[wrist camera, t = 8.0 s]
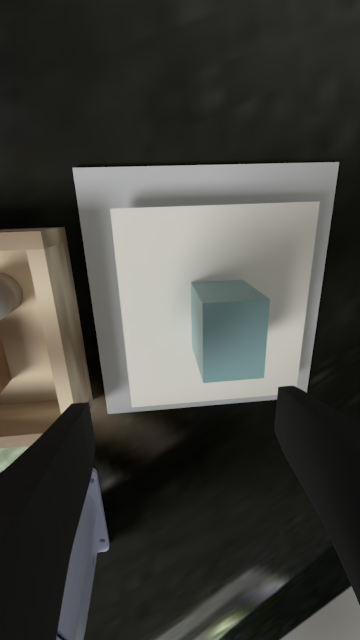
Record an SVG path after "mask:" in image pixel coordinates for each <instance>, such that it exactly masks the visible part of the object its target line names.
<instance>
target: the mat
mask: <svg viewBox="0 0 360 640" xmlns="http://www.w3.org/2000/svg"><path fill="white" fill-rule="evenodd" d="M338 168H339V162H316V163H270V164H225V165H179V166H133V167H87V168H73V175H74V182H75V189H76V196H77V203H78V210H79V217H80V224H81V231H82V238H83V245H84V252H85V259H86V266H87V273H88V280H89V287H90V294H91V300H92V307H93V314H94V321H95V328H96V335H97V342H98V349H99V356H100V363H101V370H102V377H103V384H104V391H105V398H106V405H107V412H108V414H115V413H127V412H138V411H150V410H161V409H173V408H184V407H196V406H207V405H219V404H230V403H242V402H254V401H265V400H277V395H270V396H259V397H247V398H236V399H224V400H213V401H201V402H190V403H178V404H167V405H155V406H144V407H132V405H131V396H130V387H129V378H128V369H127V360H126V351H125V342H124V332H123V323H122V314H121V305H120V296H119V287H118V278H117V269H116V259H115V250H114V241H113V232H112V223H111V214H110V209H114V208H143V207H172V206H202V205H231V204H260V203H289V202H319V201H320V205H319V213H318V221H317V229H316V237H315V245H314V253H313V261H312V269H311V277H310V285H309V293H308V301H307V309H306V317H305V325H304V333H303V341H302V349H301V357H300V365H299V373H298V381H297V388H299V389H301V390H303V391H305V392H306V393H307V388H308V381H309V374H310V367H311V360H312V352H313V345H314V338H315V331H316V324H317V317H318V310H319V303H320V296H321V289H322V282H323V275H324V267H325V260H326V253H327V246H328V239H329V232H330V225H331V218H332V211H333V204H334V197H335V189H336V182H337V175H338Z"/></svg>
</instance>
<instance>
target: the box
mask: <svg viewBox="0 0 360 640" xmlns="http://www.w3.org/2000/svg"><path fill="white" fill-rule="evenodd" d="M85 402H89V407H90V409H91V405H92V402H93V398H92V391H91V385H90V379H89V373H88V367H87V361H86V354H85V348H84V342H83V336H82V330H81V324H80V317H79V311H78V305H77V299H76V293H75V286H74V280H73V274H72V268H71V262H70V256H69V249H68V243H67V237H66V231H65V227H50V228H23V229H0V448H9V447H20V446H31V445H32V444H33V443H34V442H35V441H36V440H37V439H38V438H39V437H40V436H41V435H42V434H43V433H44V432H45V431H46V430H47V429H48V428H49V427H50V426H51V425H52V424H53V423H54V422H55V421H56V419H57V418H58V417H59V416H60V415H61V414H62V413H63V412H64V411H65V410H66V409H67V408H68V407H69V406H70V405H71V404H72V403H85Z"/></svg>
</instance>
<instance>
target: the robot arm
mask: <svg viewBox="0 0 360 640" xmlns="http://www.w3.org/2000/svg"><path fill="white" fill-rule="evenodd" d="M274 431H275V434H276V436H277V439H278V441H279V444H280V446H281V448H282V451H283V453H284V455H285V457H286V459H287V461H288V462H289V464H290V466H291V468H292V469H293V471H294V473H295V475H296V476H297V478H298V480H299V482H300V483H301V485H302V487H303V488H304V490H305V492H306V494H307V495H308V497H309V499H310V501H311V502H312V504H313V506H314V508H315V509H316V511H317V513H318V515H319V517H320V518H321V520H322V522H323V524H324V526H325V528H326V530H327V532H328V535H329V537H330V539H331V541H332V543H333V545H334V547H335V550H336V552H337V554H338V556H339V558H340V560H341V563H342V565H343V567H344V570H345V572H346V574H347V576H348V579H349V581H350V583H351V586H352V588H353V590H354V592H355V594H356V597H357V599H358V602H359V604H360V423H358V422H356V421H354V420H353V419H351V418H349V417H347V416H345V415H344V414H342V413H340V412H338V411H337V410H335V409H333V408H332V407H330V406H328V405H327V404H325V403H323V402H321V401H320V400H318V399H316V398H315V397H313V396H311V395H310V394H308V393H306V392H305V391H303V390H301V389H299V388H297V387H295V386H283V387H278V395H277V405H276V414H275V424H274ZM95 449H96V445H95V438H94V432H93V426H92V420H91V413H90V407H89V402H85V403H72V404H71V405H70V406H69V407H68V408H67V409H66V410H65V411H64V412H63V413H62V414H61V415H60V416H59V417H58V418H57V419H56V421H55V422H54V423H53V424H52V425H51V426H50V427H49V428H48V429H47V430H46V431H45V432H44V433H43V434H42V435H41V436H40V437H39V438H38V439H37V440H36V441H35V442H34V443H33V444H32V445H31V446H30V447H29V448H28V449H27V450H26V451H25V452H24V453H22V454H21V455H20V456H19V457H18V458H17V459H16V460H15V461H14V462H13V463H12V464H11V465H10V466H8V467H7V468H6V469H5V470H4V471H3V472H1V473H0V640H83V638H84V634H85V629H86V622H87V616H88V609H89V603H90V597H91V590H92V584H93V577H94V571H95V565H96V558H97V552H105V551H107V550H108V549H109V544H110V543H109V537H108V531H107V526H106V520H105V514H104V508H103V503H102V497H101V491H100V485H99V480H98V474H97V470H96V469H95V468H93V463H94V456H95ZM91 478H92V479H91Z"/></svg>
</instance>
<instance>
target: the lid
mask: <svg viewBox="0 0 360 640" xmlns="http://www.w3.org/2000/svg"><path fill="white" fill-rule="evenodd" d="M319 205H320V201H319V202H289V203H260V204H231V205H202V206H172V207H143V208H114V209H110V214H111V223H112V232H113V241H114V250H115V259H116V269H117V278H118V287H119V296H120V305H121V314H122V323H123V332H124V342H125V351H126V360H127V369H128V378H129V387H130V396H131V405H132V407H144V406H155V405H167V404H178V403H190V402H201V401H213V400H224V399H236V398H247V397H259V396H270V395H278V387H283V386H295V387H297V381H298V373H299V365H300V357H301V349H302V341H303V333H304V325H305V317H306V309H307V301H308V293H309V285H310V277H311V269H312V261H313V253H314V245H315V237H316V229H317V221H318V213H319Z"/></svg>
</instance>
